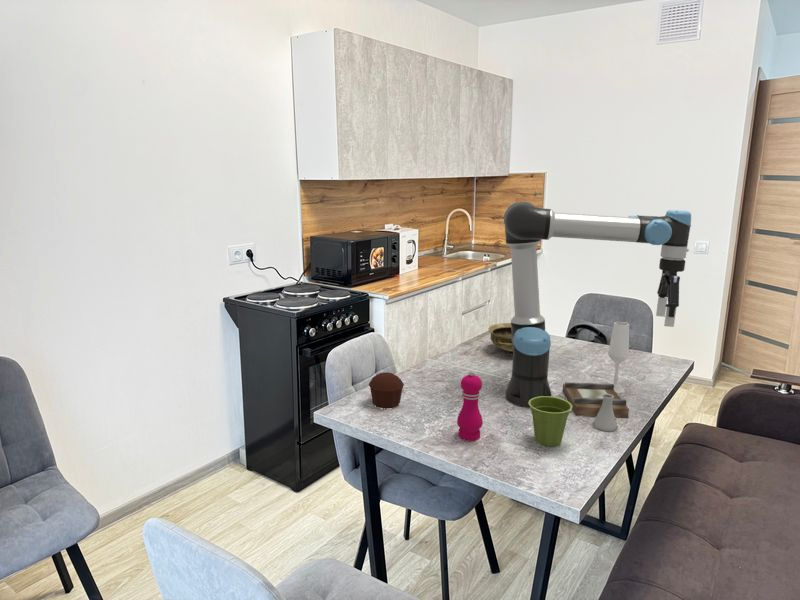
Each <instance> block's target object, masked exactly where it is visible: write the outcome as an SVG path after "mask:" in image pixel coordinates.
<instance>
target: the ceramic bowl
mask: <svg viewBox="0 0 800 600" xmlns="http://www.w3.org/2000/svg"><path fill="white" fill-rule="evenodd" d="M488 331H489V333H490V340H491V342H492V343H493V344H494V345H495V346H496V347H497V348H499V349H502V350H504V351H505V353H506V352H507V353H506V354H508V353H509V354H508V355H511V354H512V355H511V356H513V346H512V340H511V335H512V331H511V322H502V323H501V322H500V323H494V324H492V325H490V326H489V327H488Z"/></svg>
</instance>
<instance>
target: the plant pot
mask: <svg viewBox="0 0 800 600" xmlns="http://www.w3.org/2000/svg"><path fill="white" fill-rule="evenodd" d="M529 406H530V407H531V408H530V412H531V415H532V423H533V433H534V439H535V442H537V443H538V444H539V445H543V446H546V447H557V446H559V445H561V443H562V441H563V436H564V432H565V429H566V424H567V420H568V418H569V416H570V411H572V404H571V403H570V402H568V401H567V399H564V398H561V397H558V396H557V397H556V396H552V397H551V396H540V397H535V398H532V399H530V400H529Z"/></svg>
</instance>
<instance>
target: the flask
mask: <svg viewBox="0 0 800 600" xmlns="http://www.w3.org/2000/svg"><path fill="white" fill-rule="evenodd" d="M602 396H603V402H602V406H601V408H600V410H599V412H598V414H597V416H596V417H594V418H595V419H594V420H593V422H592V426H593V428H594V429H597V430H600V431H603V432H610V433H611V432H615V431H617V430H618V425H617V421H616V417H615V416H614V412H613V407H612V400H613V398H614V396H613V395H610V394H603V395H602Z"/></svg>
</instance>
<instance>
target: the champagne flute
mask: <svg viewBox="0 0 800 600" xmlns="http://www.w3.org/2000/svg"><path fill="white" fill-rule="evenodd" d="M612 327H613V328H612V332H611V337H610V342H609V348H608V351H607V353H608V357H609V358H610V359H611V360H612V361H613V362H614V363H615V364H614V365H615V366H614V367H615V368H614V378H613V383H612V384H613V385H614V391H615V392H616V393H617V394H622V393H625V392H626V391H625V388H623V387H621V386H620V385H619V384H618V380H619V371H620V370H619V369H620V364H622V363H623V362H626V360H627V359H628V357H629V356H630V323H628V322H624V321H614V322H613V326H612Z"/></svg>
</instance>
